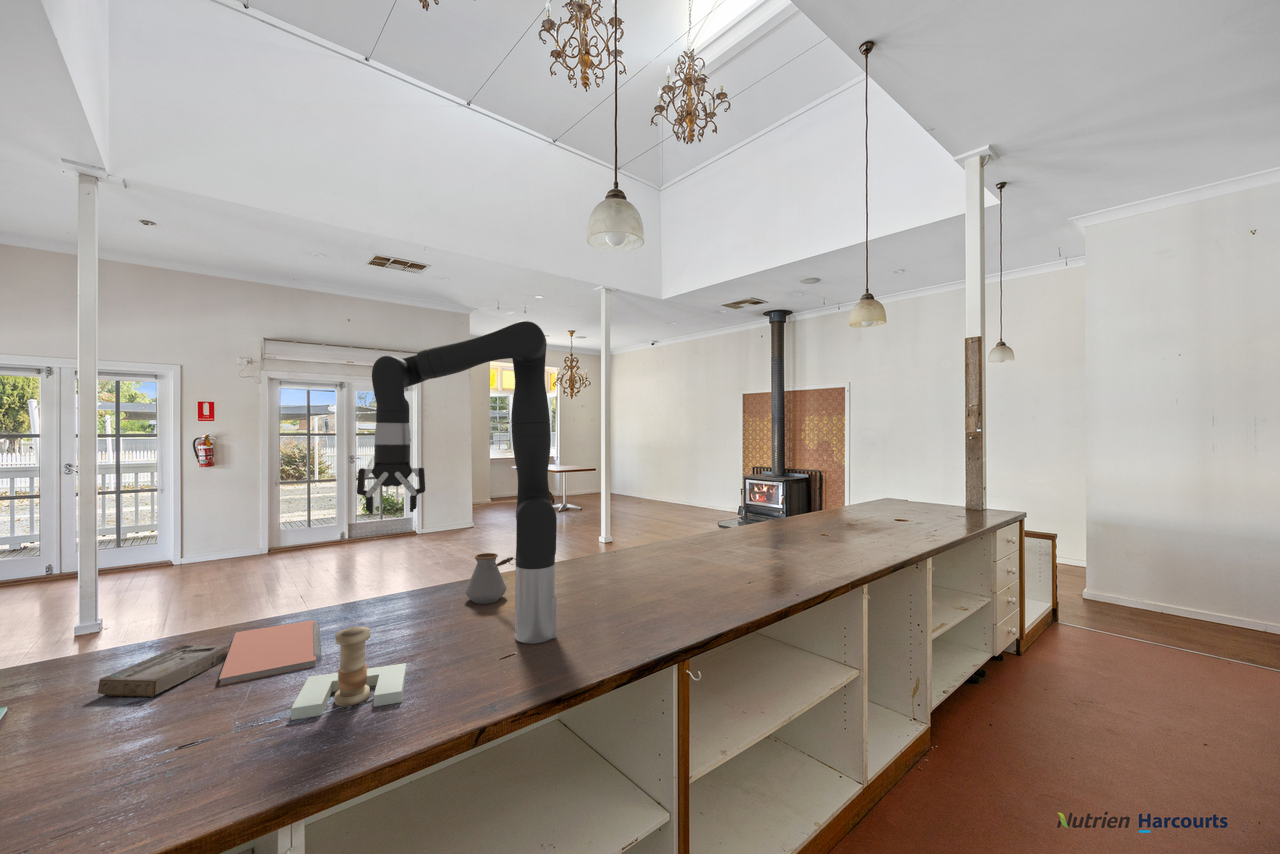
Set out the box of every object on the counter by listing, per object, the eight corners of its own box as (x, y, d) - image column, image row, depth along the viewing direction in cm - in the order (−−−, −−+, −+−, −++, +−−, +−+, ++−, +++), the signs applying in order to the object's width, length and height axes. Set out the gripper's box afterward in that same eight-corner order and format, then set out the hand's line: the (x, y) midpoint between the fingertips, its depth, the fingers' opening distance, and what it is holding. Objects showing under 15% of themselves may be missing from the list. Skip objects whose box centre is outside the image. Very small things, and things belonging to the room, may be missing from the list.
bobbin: (371, 688, 98) (372, 625, 98) (367, 702, 93) (368, 636, 93) (337, 693, 96) (338, 628, 96) (331, 708, 91) (332, 640, 91)
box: (95, 696, 94) (96, 679, 94) (180, 657, 111) (181, 643, 111) (154, 698, 94) (155, 681, 94) (229, 659, 111) (230, 644, 111)
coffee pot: (458, 599, 151) (459, 547, 151) (494, 591, 159) (495, 542, 159) (493, 618, 136) (493, 561, 136) (531, 608, 143) (531, 554, 144)
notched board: (406, 673, 104) (406, 663, 104) (401, 702, 93) (401, 691, 93) (308, 687, 98) (308, 676, 98) (291, 720, 87) (291, 708, 87)
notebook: (321, 666, 108) (322, 657, 108) (218, 687, 99) (218, 677, 99) (319, 625, 131) (319, 617, 131) (235, 639, 122) (235, 631, 122)
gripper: (355, 443, 114) (354, 516, 114) (425, 443, 119) (424, 513, 119) (360, 442, 121) (359, 511, 121) (426, 442, 126) (425, 508, 126)
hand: (391, 512), depth 120 cm, fingers open, 8 cm apart
